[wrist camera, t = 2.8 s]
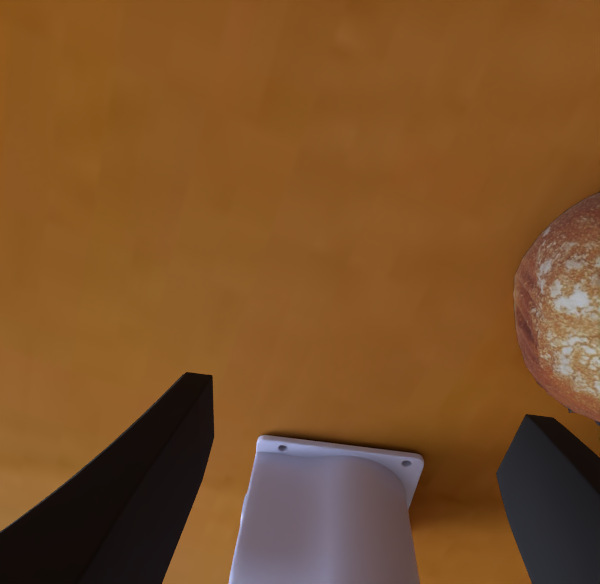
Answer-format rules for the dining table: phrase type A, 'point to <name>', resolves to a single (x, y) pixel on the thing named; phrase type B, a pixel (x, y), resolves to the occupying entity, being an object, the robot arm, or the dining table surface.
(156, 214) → the dining table surface
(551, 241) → the bread roll
